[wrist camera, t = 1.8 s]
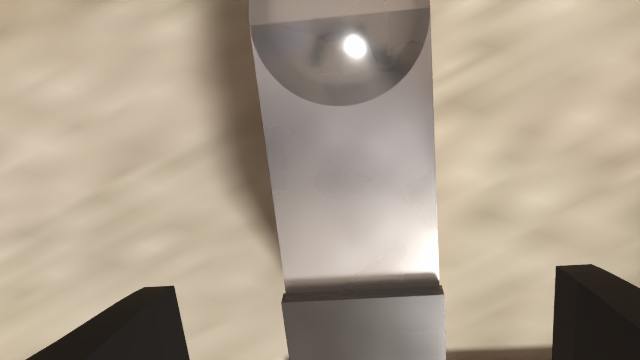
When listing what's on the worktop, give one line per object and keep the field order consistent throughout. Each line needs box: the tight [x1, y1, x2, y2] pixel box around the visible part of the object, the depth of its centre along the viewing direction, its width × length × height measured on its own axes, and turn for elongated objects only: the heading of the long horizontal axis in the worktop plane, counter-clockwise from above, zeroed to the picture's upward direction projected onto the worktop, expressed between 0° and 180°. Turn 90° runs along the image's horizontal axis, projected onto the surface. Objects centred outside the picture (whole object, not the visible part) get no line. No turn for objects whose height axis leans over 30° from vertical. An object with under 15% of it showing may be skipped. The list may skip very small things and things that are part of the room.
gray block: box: [248, 0, 446, 360], centre depth 15 cm, size 4×13×6 cm, turn 6°
